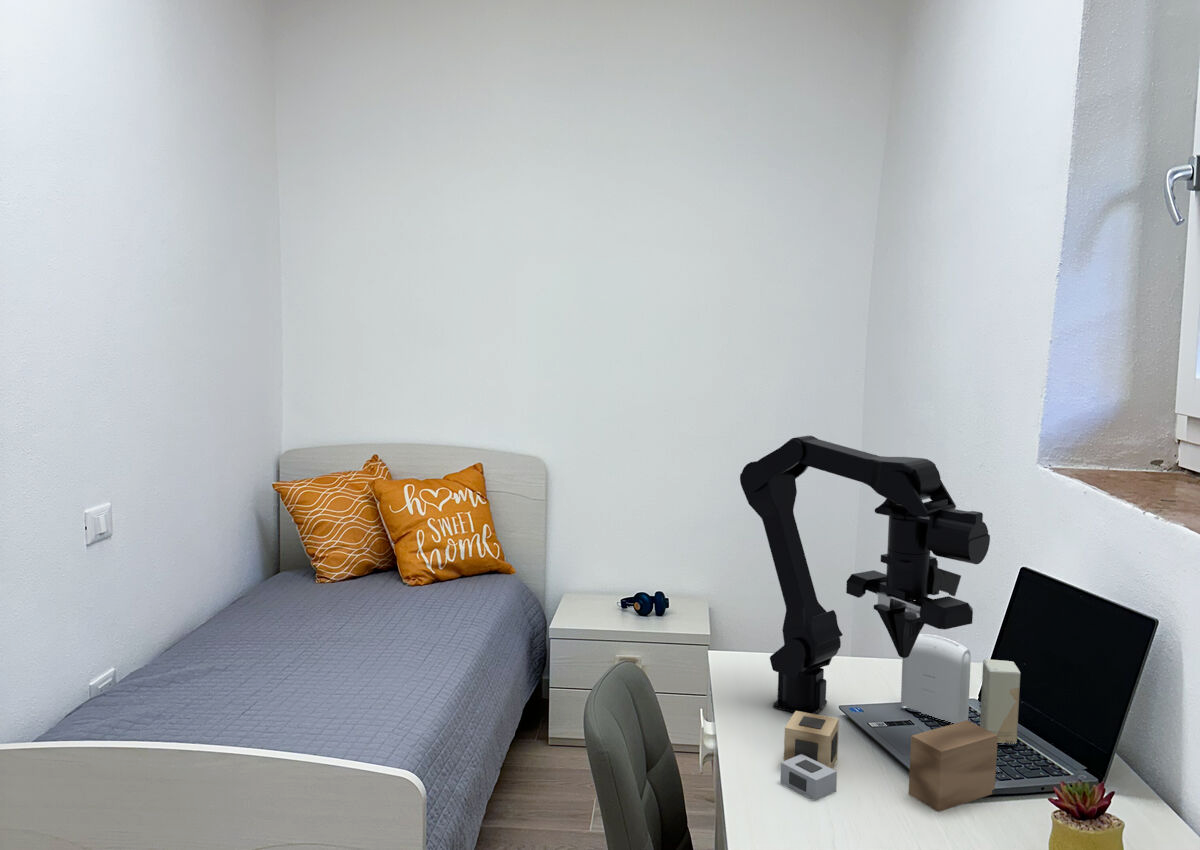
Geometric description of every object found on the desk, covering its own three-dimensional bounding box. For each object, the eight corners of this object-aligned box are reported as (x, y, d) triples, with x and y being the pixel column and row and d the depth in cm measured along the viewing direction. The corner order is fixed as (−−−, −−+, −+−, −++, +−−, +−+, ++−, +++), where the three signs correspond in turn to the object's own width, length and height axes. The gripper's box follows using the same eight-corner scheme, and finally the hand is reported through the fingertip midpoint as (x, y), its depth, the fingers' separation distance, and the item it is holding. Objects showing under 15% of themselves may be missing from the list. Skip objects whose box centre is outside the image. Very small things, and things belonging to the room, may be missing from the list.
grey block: (779, 784, 130) (780, 761, 129) (800, 775, 132) (801, 752, 132) (814, 802, 125) (815, 779, 124) (836, 793, 127) (837, 770, 127)
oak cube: (783, 770, 133) (784, 727, 132) (794, 751, 139) (795, 709, 138) (828, 779, 130) (830, 735, 130) (838, 760, 136) (840, 717, 135)
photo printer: (895, 709, 152) (899, 632, 151) (908, 701, 156) (912, 625, 154) (960, 729, 145) (964, 649, 144) (972, 720, 149) (977, 641, 147)
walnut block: (908, 794, 127) (911, 735, 126) (963, 777, 131) (967, 720, 130) (938, 812, 122) (941, 751, 121) (994, 793, 127) (998, 735, 126)
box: (1016, 748, 139) (1021, 673, 138) (984, 745, 140) (989, 671, 139) (1009, 732, 145) (1014, 660, 143) (978, 729, 145) (982, 657, 144)
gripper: (1004, 558, 132) (997, 669, 134) (902, 528, 149) (897, 628, 151) (945, 568, 127) (939, 684, 129) (845, 537, 143) (841, 640, 146)
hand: (903, 657), depth 139 cm, fingers closed
